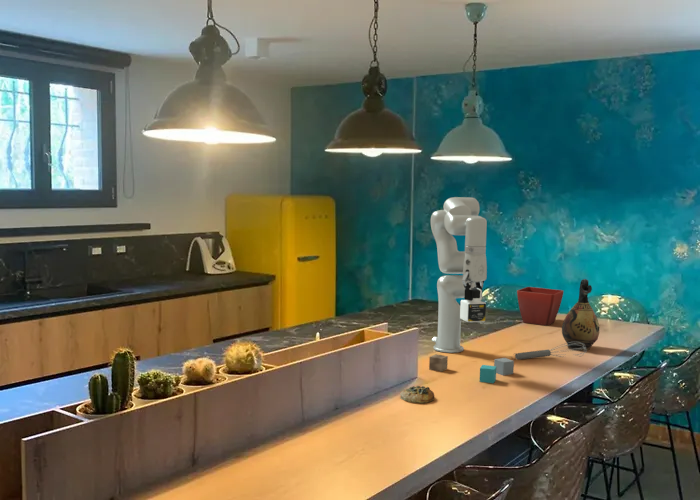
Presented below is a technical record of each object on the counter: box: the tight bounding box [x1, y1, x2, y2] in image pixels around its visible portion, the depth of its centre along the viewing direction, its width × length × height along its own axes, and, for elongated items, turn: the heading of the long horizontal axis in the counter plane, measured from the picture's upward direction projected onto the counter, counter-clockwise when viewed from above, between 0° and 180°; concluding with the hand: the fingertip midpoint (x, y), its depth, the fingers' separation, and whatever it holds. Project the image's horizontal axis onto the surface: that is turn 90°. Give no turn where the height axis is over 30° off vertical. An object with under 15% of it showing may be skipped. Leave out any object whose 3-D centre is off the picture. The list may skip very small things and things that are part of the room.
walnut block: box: [428, 354, 449, 373], centre depth 257 cm, size 5×5×5 cm
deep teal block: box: [479, 364, 497, 384], centre depth 243 cm, size 5×5×5 cm
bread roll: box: [399, 385, 435, 404], centre depth 221 cm, size 11×11×5 cm
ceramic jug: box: [561, 278, 600, 352], centre depth 296 cm, size 17×15×30 cm
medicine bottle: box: [459, 288, 487, 323], centre depth 254 cm, size 7×7×12 cm
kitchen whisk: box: [511, 342, 588, 361], centre depth 279 cm, size 6×34×6 cm, turn 105°
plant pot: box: [516, 286, 565, 326], centre depth 352 cm, size 19×19×17 cm
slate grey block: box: [493, 357, 515, 377], centre depth 254 cm, size 5×5×5 cm
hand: (473, 298), depth 253 cm, fingers closed on medicine bottle, 6 cm apart
